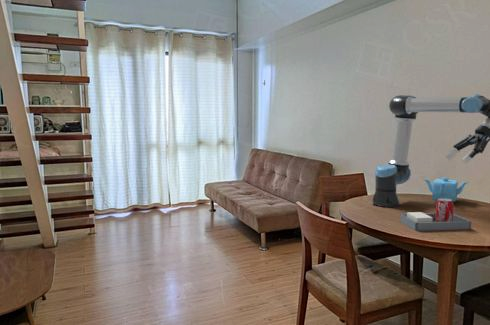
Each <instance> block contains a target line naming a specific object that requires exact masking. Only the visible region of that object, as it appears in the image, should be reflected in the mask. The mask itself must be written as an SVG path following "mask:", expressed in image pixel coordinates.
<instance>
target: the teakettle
mask: <svg viewBox="0 0 490 325" xmlns="http://www.w3.org/2000/svg"><path fill="white" fill-rule="evenodd" d="M422 180H423V181H425V182H426V183H427V188H428V189H429V191H430V192H431V193H432V196H431V197H432V199H431V200H433V201H434V203H437V201H438V199H439V198H447V199H451V200H452V202H453V205H454V203H455V202H456V201H457V198H458V195H460V194H461V193H462V191H463V189H464V188H465V185H467V184H469V183H470V181H463V182H462V183H461V184H460V186H459V188H458V183H459V182H458V179H449V177H442V178H436V179H434V181H433V182H432V184H431V181H430V180H429V179H427V178H423V179H422Z"/></svg>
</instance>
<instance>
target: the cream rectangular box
mask: <svg viewBox="0 0 490 325" xmlns="http://www.w3.org/2000/svg"><path fill="white" fill-rule="evenodd" d="M424 213H425V212H421V211H415V212H412V211H411V212H410V211H409V212H406V214H407V217H408V218H410V219H411V220H413V221H415V222H417V223H420V222H432V220H433V218H432V217H430V216H428V215H426V214H424Z"/></svg>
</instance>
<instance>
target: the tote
mask: <svg viewBox="0 0 490 325" xmlns="http://www.w3.org/2000/svg"><path fill="white" fill-rule="evenodd" d="M423 213H424V214H426V215H428V216H430V217H432V218H433V220H432V222H420V223H417V222H415V221H413V220H411V219H410V218H408V217H407V213H400V214H399V222H401V223H402V224H404V225H406V226H407V227H408V228H411V230H413V231H415V232H417V231H418V232H422V231H423V232H424V231H451V230H452V231H454V230H455V231H456V230H461V231H462V230H471V229H472V220H468V219H466V218H463V217H462V216H460V215H457V214H455V213H453V222H436V212H434V213H433V212H428V213H427V212H426V213H425V212H423Z"/></svg>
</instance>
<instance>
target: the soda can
mask: <svg viewBox="0 0 490 325" xmlns="http://www.w3.org/2000/svg"><path fill="white" fill-rule="evenodd" d="M435 203H436V205H435V213H436V222H453V214H454V204H453V203H454V202H452V200H451V199H447V198H439V199H438V201H437V202H435Z"/></svg>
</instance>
